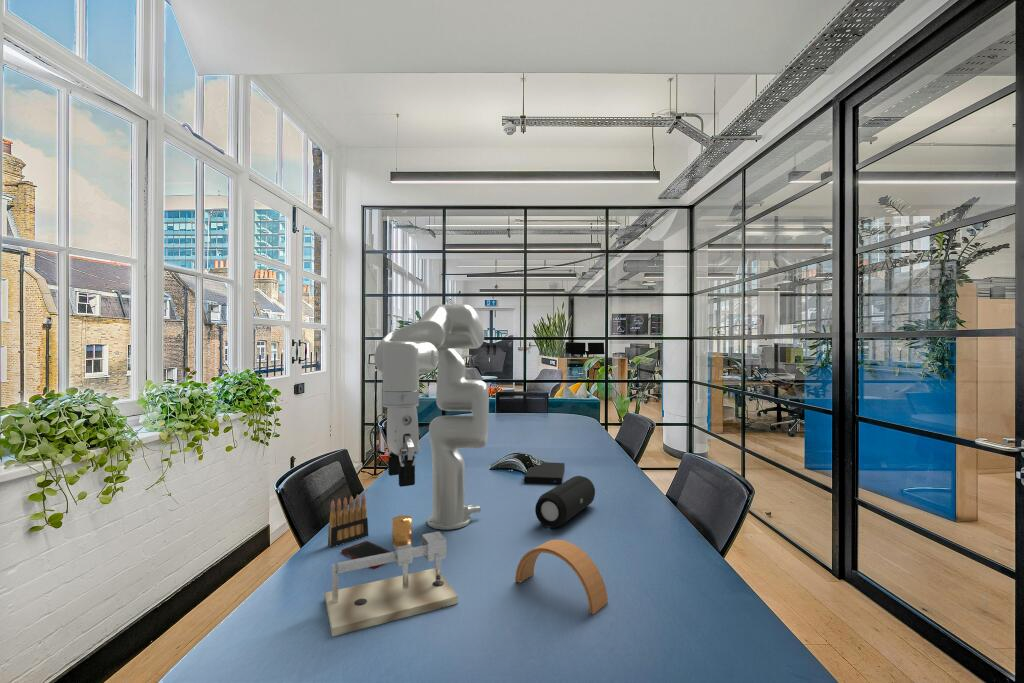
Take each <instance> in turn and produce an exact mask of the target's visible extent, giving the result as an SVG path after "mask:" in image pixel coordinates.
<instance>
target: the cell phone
mask: <svg viewBox="0 0 1024 683" xmlns="http://www.w3.org/2000/svg"><path fill="white" fill-rule="evenodd" d="M389 552H391V550H388V549H386V548H383V547H381V546H379V545H377V544H375V543H373V542H370V541H369V540H365V541H363V542H360V543H359V542H358V543H357V544H353V545H351V546H349V547H345V548H343V549H341V554H342V553H343V555H344V554H345V555H344V556H346V557H348V556H349V558H350V557H351V558H350V559H351V560H353V559H359V558H364V557H369V556H374V555H379V554H384V553H389ZM382 565H383V566H385V565H387V563H385V564H381V565H376V566H371V567H368V568H369V569H371V568H372V570H375V569H378V568H380V567H382Z"/></svg>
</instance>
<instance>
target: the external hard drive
mask: <svg viewBox="0 0 1024 683" xmlns="http://www.w3.org/2000/svg"><path fill="white" fill-rule="evenodd" d="M565 465H566V464H565V462H548V461H546V462H543V461H542V464H541V465H537V466H534V467H530V468H529V467H528V468H527V470H526V473H525V475H524V477H523V482H524V484H527V485H528V484H529V485H551V486H552V485H555V486H558V485H560V484H562V483H563V481H564V474H565V471H566V470H565V468H566V467H565Z"/></svg>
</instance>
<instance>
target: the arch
mask: <svg viewBox="0 0 1024 683" xmlns="http://www.w3.org/2000/svg"><path fill="white" fill-rule="evenodd" d="M542 553H543V554H550V555H553V556H556V557H557V558H559V559H561V561H563V562H565V563H566V564H567V566H569V567H570V568H571V569H572V570H573V572H574V573H575V574H576V575H577V578H578V579H579V580H580V583H581V584H582V586H583V588H584V591H585V594H586V597H587V601H588V607H589V608H588V609H589V614H592V615H595V614H596V613H598V612H599V611H600V610H601V609H602V608H603V607H605V606H606V605H607V604H608V603H609V602H608V600H609V597H608V593H607V588H606V584H605V581H604V579H603V575H602V574H601V572H600V570H599V568H598V567H597V565H596V563H595V562H594V561H593V559H591V558H592V557H590V556H589V555H588V554H587V553H586V552H585V551H584V550H583V549H582V548H580V547H578V546H577V545H576V544H574V543H573V542H570V541H568V540H567V541H566V540H563V539H551V540H548V541H546V542H544V543H542V544H540V545H538V546H536V547H535V548H533V549H531V550H528V552H526V553H525V554H524V555H523V556H522V557H521V559H520V561H519V562H518V564H517V566H516V567H517V568H516V570H515V578H514V579H515V581H516V582H515V581H514V582H515V583H517V582H519V583H518V584H520V583H521V582H520V581H522V582H524V581H526V580H527V579H529V578H531V577H532V576H533V574H534V575H535V566H536V562H537V560H538V557H539V555H541V554H542ZM530 576H531V577H530ZM528 577H529V578H528ZM525 579H526V580H525ZM523 580H524V581H523Z"/></svg>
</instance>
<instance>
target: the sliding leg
mask: <svg viewBox="0 0 1024 683" xmlns="http://www.w3.org/2000/svg"><path fill="white" fill-rule="evenodd" d="M391 522H392V524H391V525H392V526H391V527H392V528H391V529H392V535H391V536H392V537H391V538H392V542H391V543H392V548H393V551H395V552H396V553H397V561H396V562H397V564H396V565H397V566H400V567H401V566H402V575H403V589H408V587H409V574H410V573H409V565H410V564H413V559H414V558H413V548H414V547H413V546H412V541H413V537H412V535H413V534H412V533H413V532H412V531H413V530H412V526H413V525H412V522H413V520H412V516H411V515H407V514H404V515H403V514H402V515H397V516H394V517H393V518H392V520H391Z"/></svg>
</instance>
